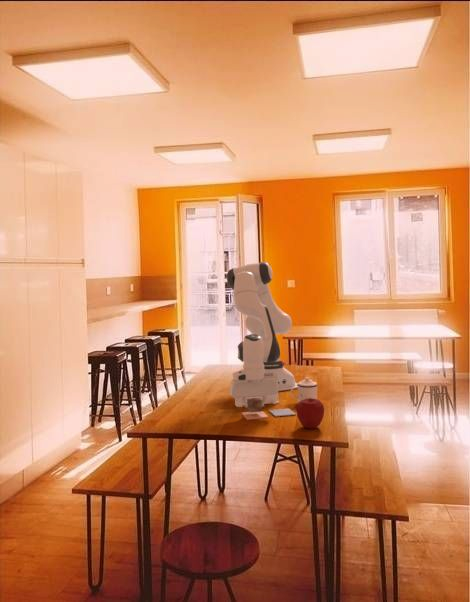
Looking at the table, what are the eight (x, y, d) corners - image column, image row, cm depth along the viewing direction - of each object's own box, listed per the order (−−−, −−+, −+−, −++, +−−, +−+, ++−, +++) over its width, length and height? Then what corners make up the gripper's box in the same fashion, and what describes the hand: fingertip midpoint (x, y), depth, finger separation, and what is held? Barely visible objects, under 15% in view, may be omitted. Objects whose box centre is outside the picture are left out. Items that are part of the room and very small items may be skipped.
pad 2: (288, 409, 224) (288, 408, 224) (295, 415, 215) (295, 413, 215) (268, 411, 222) (268, 410, 222) (275, 417, 213) (275, 415, 213)
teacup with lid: (317, 400, 238) (317, 375, 237) (317, 405, 229) (317, 380, 228) (291, 400, 240) (291, 375, 239) (290, 405, 231) (290, 379, 230)
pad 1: (262, 412, 221) (262, 410, 221) (268, 417, 212) (268, 416, 212) (241, 413, 219) (241, 412, 219) (247, 419, 210) (247, 418, 210)
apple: (299, 422, 205) (298, 393, 204) (326, 424, 202) (325, 394, 201) (294, 431, 195) (293, 400, 194) (322, 433, 192) (322, 402, 191)
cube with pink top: (258, 408, 218) (258, 396, 218) (262, 411, 214) (261, 399, 213) (247, 409, 217) (247, 397, 217) (250, 412, 212) (250, 400, 212)
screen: (276, 400, 239) (275, 379, 239) (279, 403, 234) (279, 381, 234) (234, 404, 235) (233, 382, 234) (236, 407, 230) (236, 385, 229)
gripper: (275, 370, 220) (275, 402, 221) (228, 374, 215) (229, 406, 216) (280, 373, 214) (280, 406, 215) (232, 377, 209) (232, 410, 210)
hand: (254, 406), depth 215 cm, fingers closed on cube with pink top, 5 cm apart
